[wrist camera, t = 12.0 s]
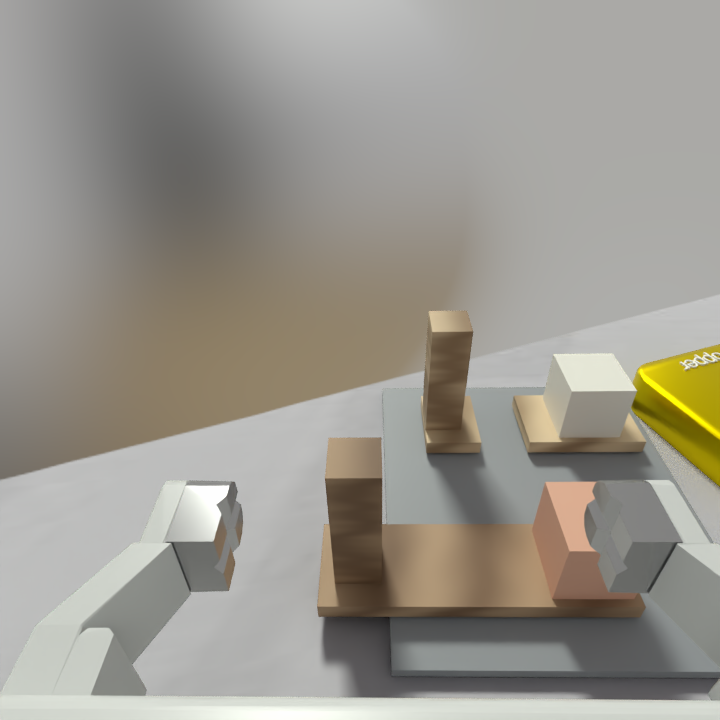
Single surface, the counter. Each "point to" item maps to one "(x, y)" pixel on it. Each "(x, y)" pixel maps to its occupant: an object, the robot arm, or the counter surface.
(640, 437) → the broken oak strip
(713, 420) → the element tile
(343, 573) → the wooden l-shaped stand
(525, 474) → the slate board
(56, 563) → the counter surface
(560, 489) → the terracotta block
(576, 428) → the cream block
